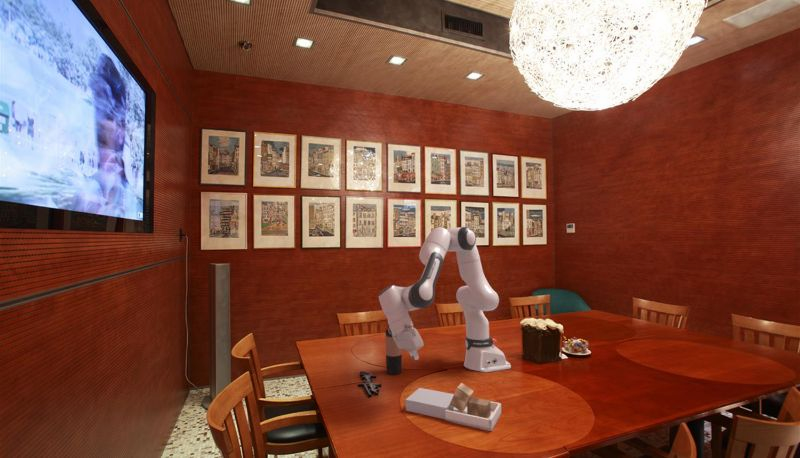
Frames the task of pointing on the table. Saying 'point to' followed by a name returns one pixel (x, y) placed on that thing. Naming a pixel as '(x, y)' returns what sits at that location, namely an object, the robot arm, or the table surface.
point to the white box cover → (429, 402)
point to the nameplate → (369, 383)
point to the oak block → (461, 397)
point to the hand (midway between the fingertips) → (416, 359)
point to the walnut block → (479, 407)
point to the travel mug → (393, 356)
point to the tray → (475, 417)
